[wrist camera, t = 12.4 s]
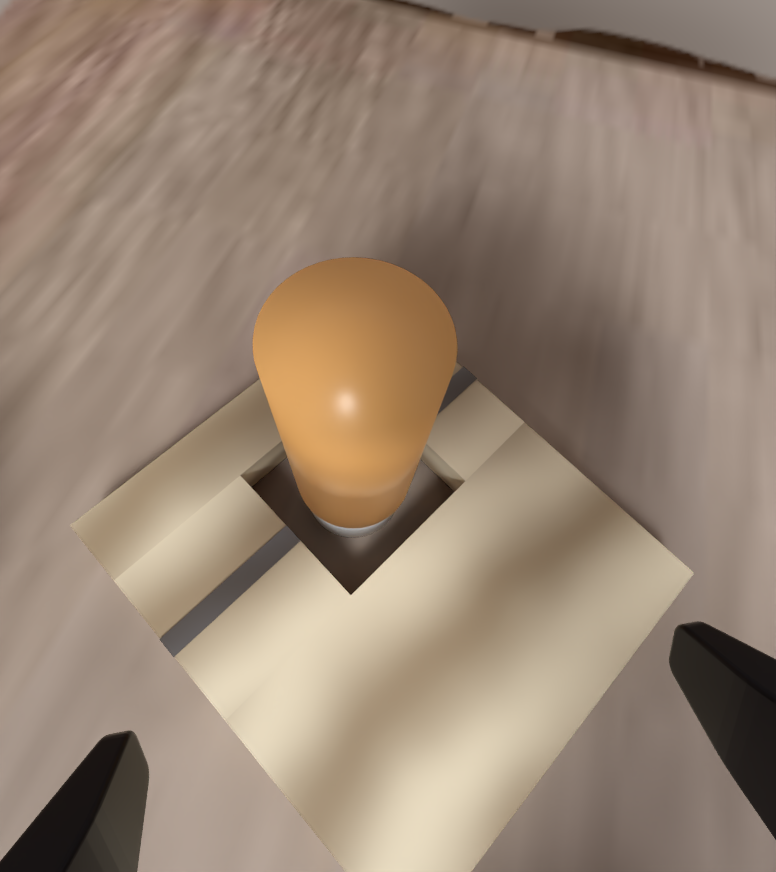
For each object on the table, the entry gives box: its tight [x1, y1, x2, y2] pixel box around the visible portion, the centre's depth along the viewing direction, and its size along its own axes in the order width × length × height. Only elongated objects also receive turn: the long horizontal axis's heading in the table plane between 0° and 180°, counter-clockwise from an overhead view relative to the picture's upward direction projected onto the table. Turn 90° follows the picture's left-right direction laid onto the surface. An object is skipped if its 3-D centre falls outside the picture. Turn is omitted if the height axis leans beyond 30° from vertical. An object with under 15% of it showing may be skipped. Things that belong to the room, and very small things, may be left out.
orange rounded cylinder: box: [253, 257, 457, 538], centre depth 17 cm, size 4×4×12 cm
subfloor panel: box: [70, 362, 694, 872], centre depth 21 cm, size 18×16×2 cm
